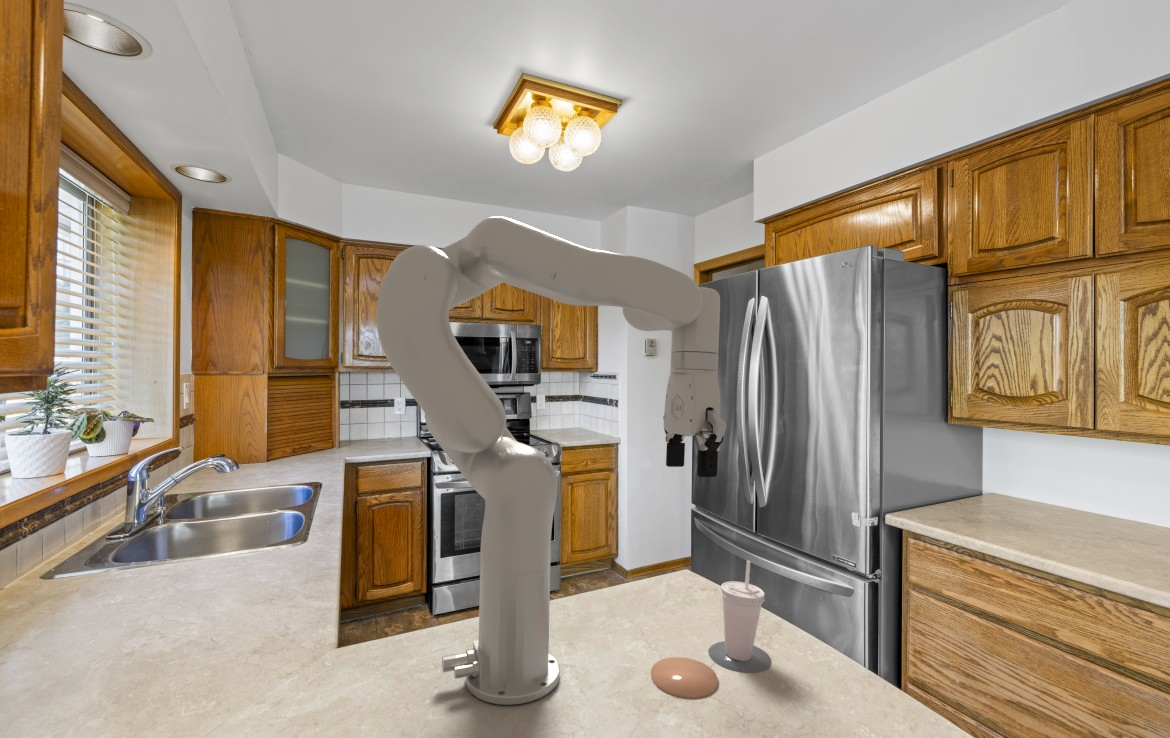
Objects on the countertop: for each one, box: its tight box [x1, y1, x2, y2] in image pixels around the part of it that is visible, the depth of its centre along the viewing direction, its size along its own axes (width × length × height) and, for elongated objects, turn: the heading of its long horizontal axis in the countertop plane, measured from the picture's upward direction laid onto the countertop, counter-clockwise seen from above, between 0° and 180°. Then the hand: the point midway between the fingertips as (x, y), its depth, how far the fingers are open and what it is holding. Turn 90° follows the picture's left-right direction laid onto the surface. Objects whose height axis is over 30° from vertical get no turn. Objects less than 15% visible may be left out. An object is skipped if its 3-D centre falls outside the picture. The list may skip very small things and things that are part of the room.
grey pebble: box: [707, 640, 772, 674], centre depth 78 cm, size 9×9×1 cm
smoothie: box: [720, 559, 766, 661], centre depth 78 cm, size 6×6×14 cm
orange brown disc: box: [650, 656, 719, 699], centre depth 72 cm, size 9×9×1 cm
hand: (690, 471), depth 84 cm, fingers open, 9 cm apart
